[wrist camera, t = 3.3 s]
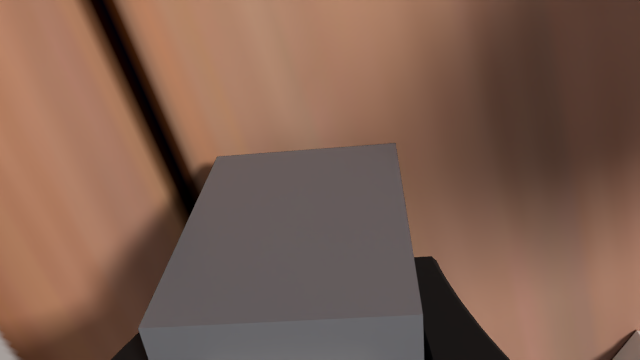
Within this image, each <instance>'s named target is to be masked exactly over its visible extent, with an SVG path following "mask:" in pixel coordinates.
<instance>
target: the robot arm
mask: <svg viewBox="0 0 640 360" xmlns="http://www.w3.org/2000/svg"><path fill="white" fill-rule="evenodd" d="M414 262H415V268H416V274H417V280H418V287H419V293H420V299H421V305H422V312H423V333H424V360H510V359H509V358H508V357H507V356H506V355H505V354H504V353H503V352H502V351H501V350H500V349H499V347H498V346H497V345H496V344H495V343H494V342H493V341H492V339H491V338H490V337H489V336H488V335H487V334H486V332H485V331H484V330H483V329H482V328H481V326H480V325H479V324H478V323H477V321H476V320H475V319H474V317H473V316H472V315H471V314H470V312H469V311H468V310H467V308H466V307H465V306H464V304H463V303H462V302H461V300H460V299H459V297H458V296H457V295H456V293H455V292H454V290H453V289H452V287H451V286H450V284H449V282H448V281H447V279H446V278H445V276H444V274H443V273H442V271H441V269H440V267H439V265H438V263H437V261H436V260H435V259H434V258H433V257H431V256H429V257H414ZM111 360H149V359H148V356H147V354H146V351H145V348H144V345H143V342H142V339H141V336H140V333H138V334H137V335H136V336H135V337H134V338H133V339H132V340H131V341H129V342H128V343H127V344H126V345H125V346H124V347H123V348H122V349H121V350H120V351H119V352H118V353H117V354H116V355H115V356H114V357H113V358H112V359H111Z"/></svg>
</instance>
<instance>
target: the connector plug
mask: <svg viewBox="0 0 640 360" xmlns="http://www.w3.org/2000/svg"><path fill="white" fill-rule="evenodd" d="M138 330H139V333H140V336H141V339H142V342H143V345H144V348H145V351H146V354H147V356H148V359H149V360H424V333H423V312H422V305H421V299H420V293H419V287H418V280H417V274H416V268H415V262H414V255H413V249H412V243H411V237H410V230H409V224H408V218H407V212H406V205H405V199H404V193H403V187H402V180H401V174H400V168H399V162H398V155H397V149H396V143H390V144H377V145H364V146H351V147H337V148H324V149H311V150H298V151H285V152H272V153H259V154H245V155H232V156H219V157H217V158H216V160H215V163H214V165H213V167H212V169H211V171H210V173H209V176H208V178H207V180H206V182H205V184H204V186H203V189H202V191H201V193H200V195H199V197H198V199H197V202H196V204H195V206H194V208H193V210H192V212H191V215H190V217H189V219H188V221H187V223H186V225H185V228H184V230H183V232H182V234H181V236H180V238H179V241H178V243H177V245H176V247H175V249H174V251H173V254H172V256H171V258H170V260H169V262H168V264H167V267H166V269H165V271H164V273H163V275H162V278H161V280H160V282H159V284H158V286H157V288H156V291H155V293H154V295H153V297H152V299H151V301H150V304H149V306H148V308H147V310H146V312H145V314H144V317H143V319H142V321H141V323H140V325H139V327H138Z"/></svg>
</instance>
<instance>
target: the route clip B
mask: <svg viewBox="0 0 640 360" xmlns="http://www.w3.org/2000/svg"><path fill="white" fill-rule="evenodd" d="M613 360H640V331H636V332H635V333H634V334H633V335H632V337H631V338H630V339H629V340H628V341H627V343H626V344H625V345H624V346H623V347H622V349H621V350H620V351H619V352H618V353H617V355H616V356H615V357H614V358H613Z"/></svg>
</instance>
